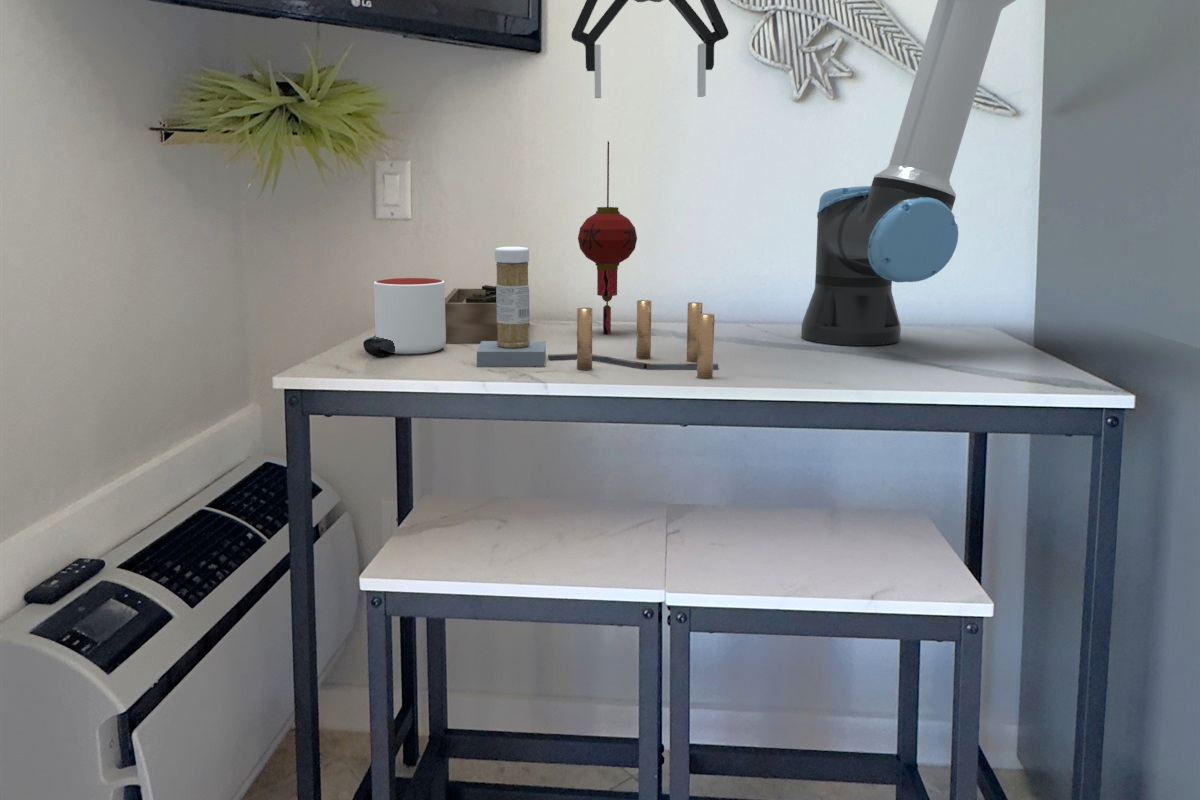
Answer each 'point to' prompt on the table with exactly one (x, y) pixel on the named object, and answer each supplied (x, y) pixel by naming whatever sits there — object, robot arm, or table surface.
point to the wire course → (697, 342)
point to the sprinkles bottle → (512, 296)
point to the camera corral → (469, 319)
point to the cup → (411, 314)
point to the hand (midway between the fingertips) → (649, 97)
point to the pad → (511, 354)
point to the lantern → (607, 248)
